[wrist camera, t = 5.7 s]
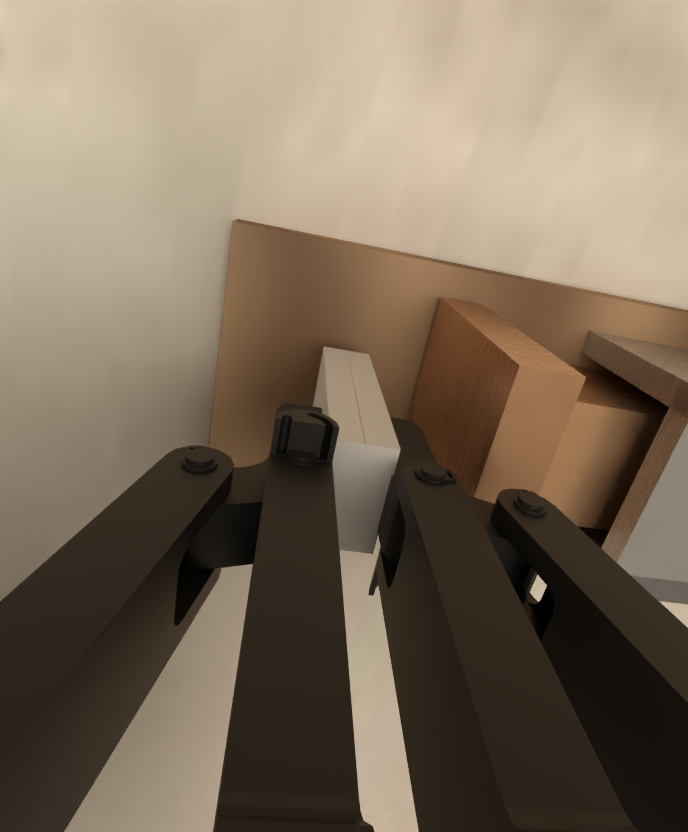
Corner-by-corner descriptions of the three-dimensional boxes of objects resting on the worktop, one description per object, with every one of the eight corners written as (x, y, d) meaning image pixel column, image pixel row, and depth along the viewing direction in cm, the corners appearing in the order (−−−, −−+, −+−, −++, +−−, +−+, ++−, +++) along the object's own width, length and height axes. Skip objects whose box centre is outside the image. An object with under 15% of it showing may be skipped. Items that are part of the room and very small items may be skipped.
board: (211, 457, 21) (206, 472, 20) (237, 219, 17) (232, 221, 16) (882, 550, 25) (908, 567, 24) (1013, 376, 22) (1051, 387, 20)
